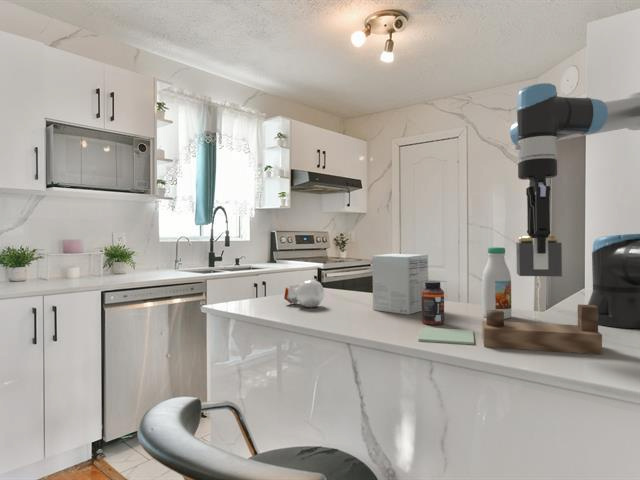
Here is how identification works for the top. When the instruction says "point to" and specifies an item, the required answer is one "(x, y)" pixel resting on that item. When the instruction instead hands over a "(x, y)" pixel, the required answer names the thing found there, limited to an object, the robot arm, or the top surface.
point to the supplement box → (399, 282)
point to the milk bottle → (496, 283)
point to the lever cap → (526, 257)
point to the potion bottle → (305, 293)
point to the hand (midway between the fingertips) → (538, 267)
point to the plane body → (545, 333)
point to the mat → (447, 335)
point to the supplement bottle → (432, 303)
